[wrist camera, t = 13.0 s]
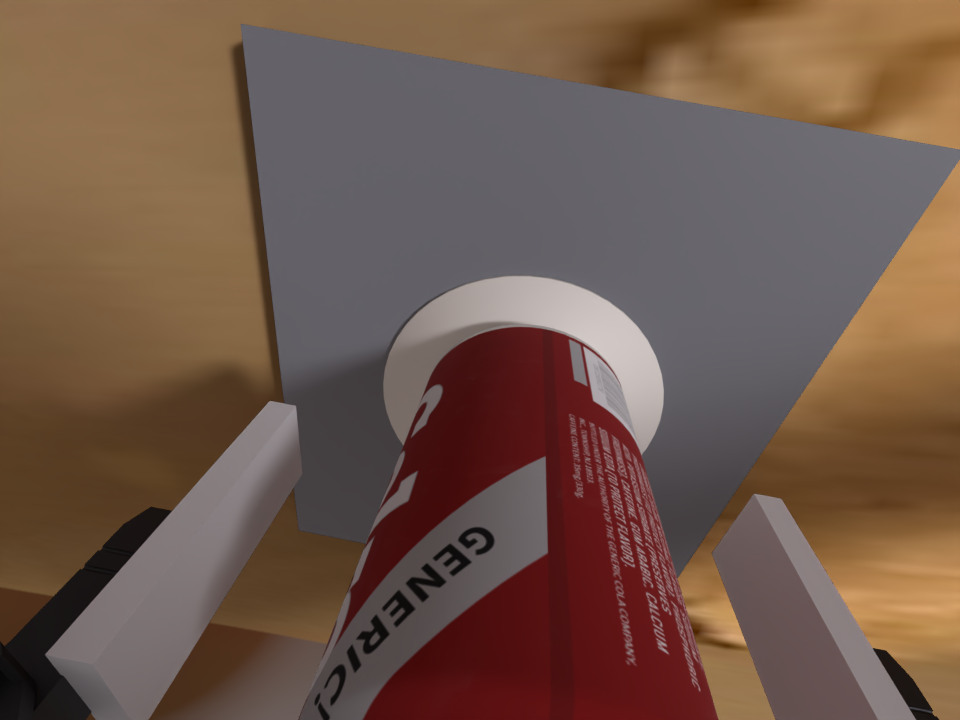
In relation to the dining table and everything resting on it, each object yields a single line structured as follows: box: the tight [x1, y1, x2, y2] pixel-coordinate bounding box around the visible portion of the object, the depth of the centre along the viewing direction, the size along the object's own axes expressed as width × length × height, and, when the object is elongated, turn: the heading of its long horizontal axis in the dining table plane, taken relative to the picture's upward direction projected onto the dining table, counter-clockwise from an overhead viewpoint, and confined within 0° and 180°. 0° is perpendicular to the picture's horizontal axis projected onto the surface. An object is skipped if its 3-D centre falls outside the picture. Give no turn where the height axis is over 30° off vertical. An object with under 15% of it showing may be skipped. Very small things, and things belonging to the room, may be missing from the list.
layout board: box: [241, 24, 960, 578], centre depth 16 cm, size 20×18×1 cm
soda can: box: [298, 324, 718, 720], centre depth 10 cm, size 7×7×12 cm
